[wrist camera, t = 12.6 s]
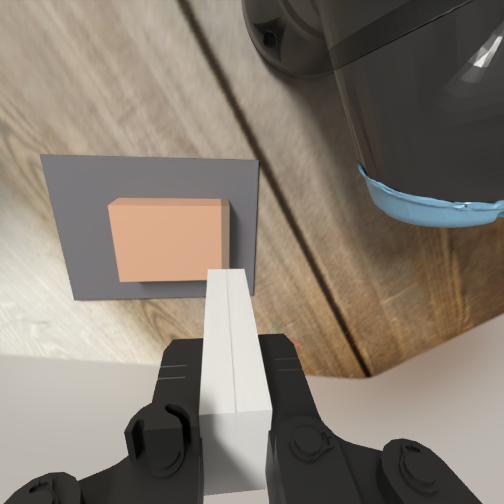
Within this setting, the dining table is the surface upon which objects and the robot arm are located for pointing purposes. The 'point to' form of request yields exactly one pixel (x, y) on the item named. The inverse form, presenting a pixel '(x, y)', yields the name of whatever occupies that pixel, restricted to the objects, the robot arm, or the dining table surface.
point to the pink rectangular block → (169, 238)
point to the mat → (142, 186)
